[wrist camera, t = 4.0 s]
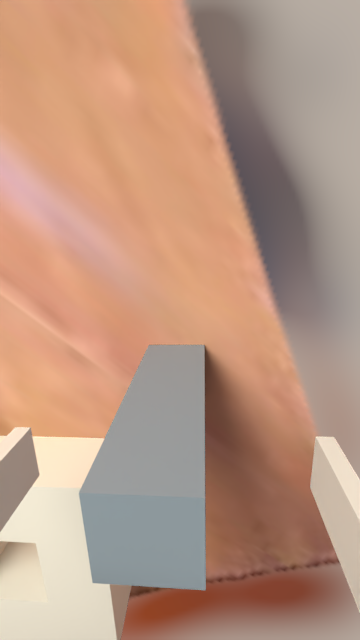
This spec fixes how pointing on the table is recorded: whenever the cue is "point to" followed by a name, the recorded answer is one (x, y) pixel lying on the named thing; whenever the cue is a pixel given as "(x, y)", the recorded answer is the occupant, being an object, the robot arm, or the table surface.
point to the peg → (152, 478)
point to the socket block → (55, 555)
